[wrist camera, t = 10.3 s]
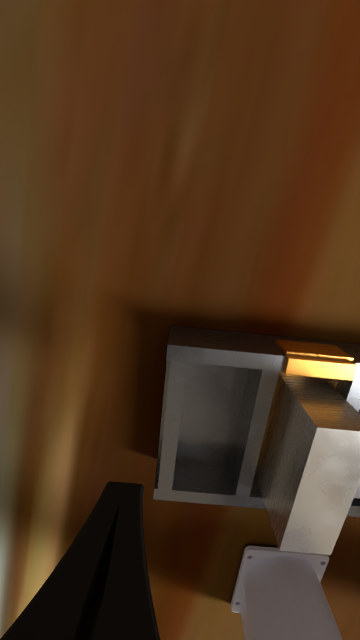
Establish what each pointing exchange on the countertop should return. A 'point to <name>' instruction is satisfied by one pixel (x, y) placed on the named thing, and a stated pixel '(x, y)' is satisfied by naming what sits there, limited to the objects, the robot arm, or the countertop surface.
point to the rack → (234, 408)
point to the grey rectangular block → (309, 463)
